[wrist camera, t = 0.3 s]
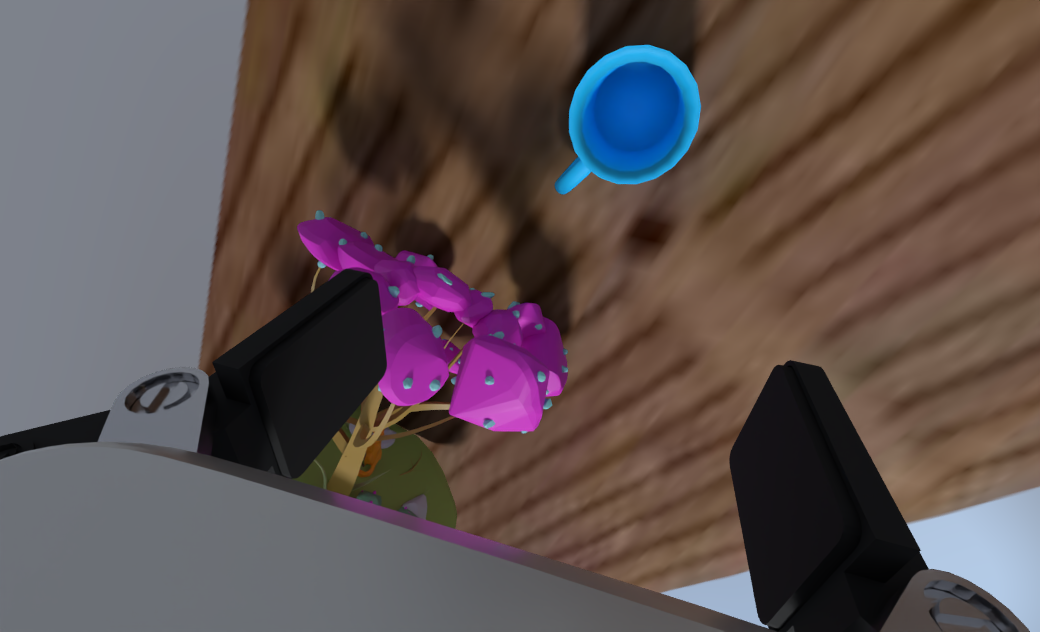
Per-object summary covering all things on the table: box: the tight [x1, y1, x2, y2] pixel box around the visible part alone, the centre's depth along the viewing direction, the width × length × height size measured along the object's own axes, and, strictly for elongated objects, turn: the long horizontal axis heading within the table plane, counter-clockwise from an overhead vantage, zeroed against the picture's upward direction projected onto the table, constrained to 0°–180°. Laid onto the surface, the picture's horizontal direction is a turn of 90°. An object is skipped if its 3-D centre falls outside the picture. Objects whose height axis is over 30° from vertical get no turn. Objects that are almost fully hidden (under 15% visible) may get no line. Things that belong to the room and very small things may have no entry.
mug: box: [555, 45, 701, 194], centre depth 32 cm, size 12×8×8 cm
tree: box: [293, 210, 568, 529], centre depth 44 cm, size 30×28×35 cm
